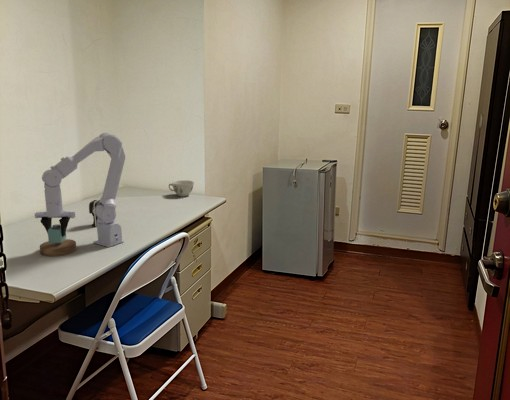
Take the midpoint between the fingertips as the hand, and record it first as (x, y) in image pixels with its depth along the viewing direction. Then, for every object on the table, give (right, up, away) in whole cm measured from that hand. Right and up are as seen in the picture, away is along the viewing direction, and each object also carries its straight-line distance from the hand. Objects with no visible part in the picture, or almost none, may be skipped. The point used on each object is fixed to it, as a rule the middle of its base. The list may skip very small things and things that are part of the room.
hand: (57, 235), depth 183 cm
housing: (0, -2, +1) cm, 2 cm away
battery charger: (+4, +2, +35) cm, 35 cm away
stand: (0, -6, +1) cm, 6 cm away
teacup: (+33, +16, +94) cm, 101 cm away
